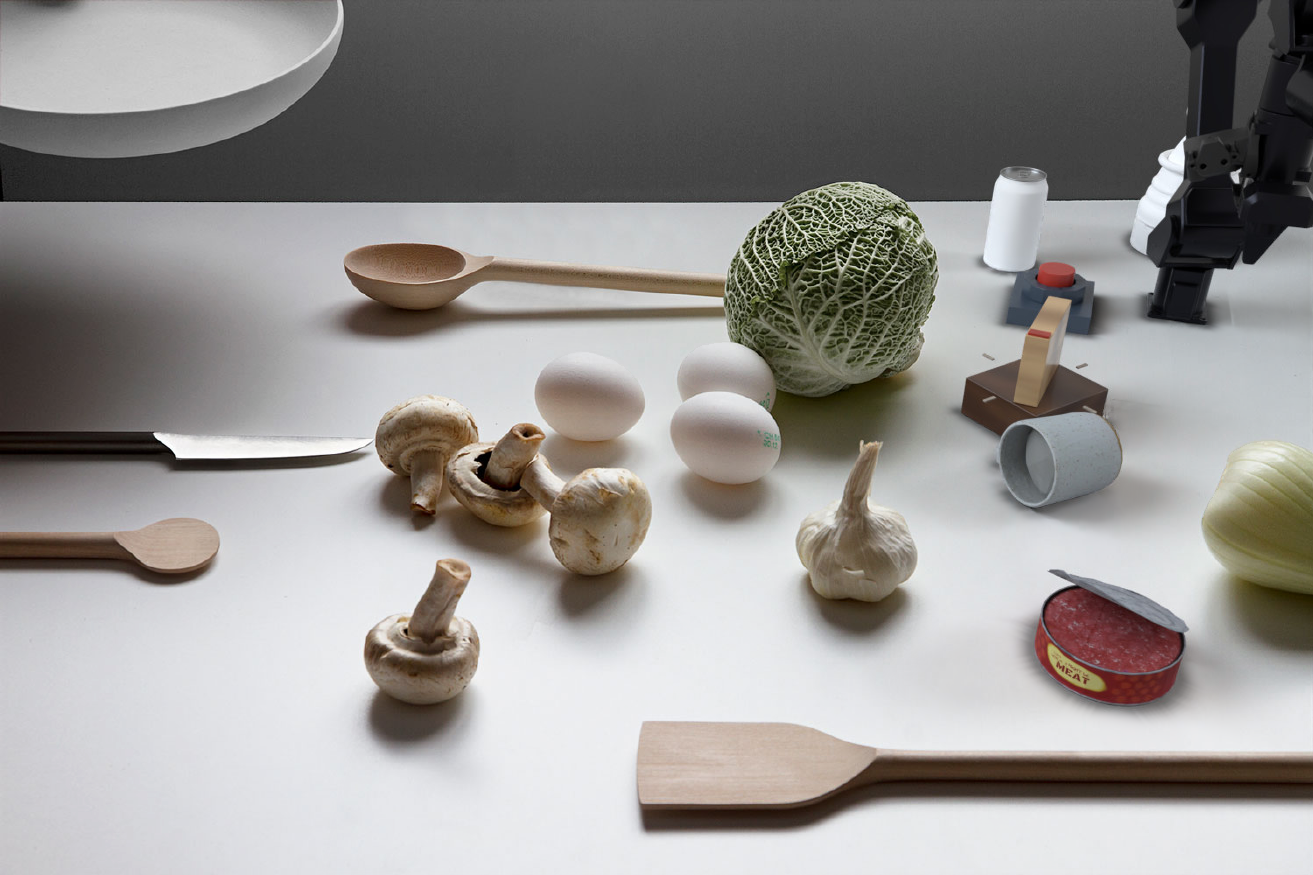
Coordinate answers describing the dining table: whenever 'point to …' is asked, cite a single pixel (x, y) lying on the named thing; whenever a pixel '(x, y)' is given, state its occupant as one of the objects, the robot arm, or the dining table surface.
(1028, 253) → the can
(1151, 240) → the robot arm
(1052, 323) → the tan wooden flat block
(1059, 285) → the button
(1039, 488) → the ceramic mug
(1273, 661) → the dining table surface
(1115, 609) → the canned food
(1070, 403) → the wooden block
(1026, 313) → the button block
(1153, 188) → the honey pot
